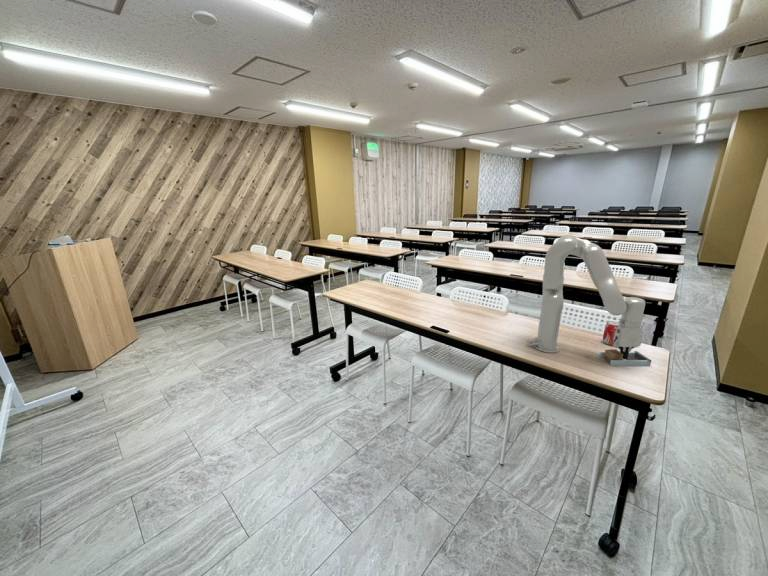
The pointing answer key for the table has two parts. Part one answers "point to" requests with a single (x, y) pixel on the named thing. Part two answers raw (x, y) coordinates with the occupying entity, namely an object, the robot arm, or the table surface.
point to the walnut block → (613, 355)
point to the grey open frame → (630, 360)
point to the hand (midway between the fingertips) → (623, 357)
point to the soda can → (610, 332)
